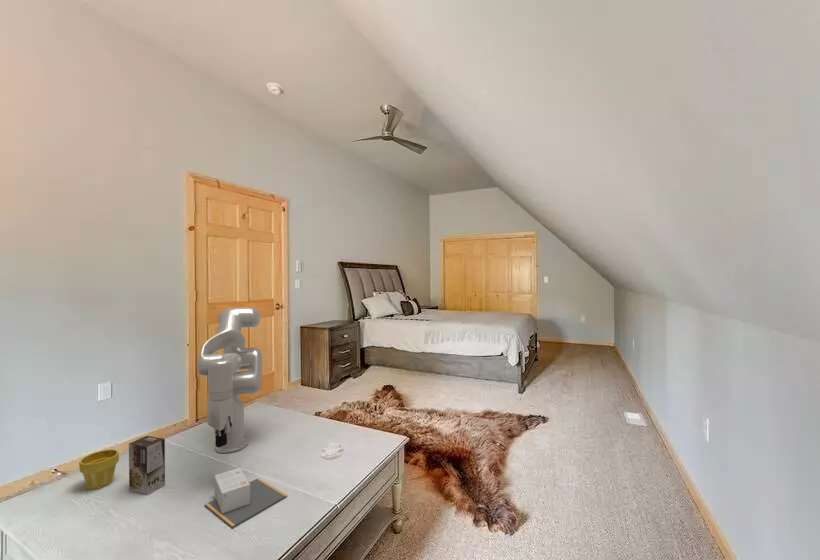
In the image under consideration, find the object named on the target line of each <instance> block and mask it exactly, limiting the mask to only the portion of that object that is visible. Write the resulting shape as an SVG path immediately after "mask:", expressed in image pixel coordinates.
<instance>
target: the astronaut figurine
mask: <svg viewBox="0 0 820 560" xmlns="http://www.w3.org/2000/svg"><path fill="white" fill-rule="evenodd" d="M325 446H326V447H323V448H322V449H321V451H322V453H321V454H320V458H322V459H324V460H327V461H331V460H332V461H333V460H336V459H338V458H340V457H341V452H343V451H344V450H345V449H344V448H343V447H341V444H340V443H339V442H327V443H326V445H325Z"/></svg>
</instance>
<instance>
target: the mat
mask: <svg viewBox="0 0 820 560" xmlns="http://www.w3.org/2000/svg"><path fill="white" fill-rule="evenodd" d="M248 482H249V484H250V504H248V505H245V506H243V507H240V508H237V509H234V510H232V511H229V512H226V513H224V514H222V512H221V510H220V507H219V505H218V502H217V500H216V498H215V499H213V500H211V501H209V502H205V504H204V507H205V508H206V509H207V510H209V511H210V512H211V513H212V514H214V515H215V516H216V517H217V518H219V520H221V521H222V522H223V523H225V524H226V525H227V526H228V527H230V528H231V529H233V530H234V528H237V527H238V526H240V525H241V524H243V523H245V522H246V521H248V520H250V519H252V518H253V517H255V516H257V515H258V514H261V513H262V512H264V511H266V510H268V509H269V508H271V507H273V506H275V505H276V504H278V503H280V502H281V501H283V500H284V499H286V498H287V497H288V495H287V493H285V492H283V491H282V490H280V489H278V488H277V487H276V486H274V485H271V484H270V483H269V482H267V481H265V480H263V479H261V478H260V477H257V478H255V479H254V480H250V481H248Z"/></svg>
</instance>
